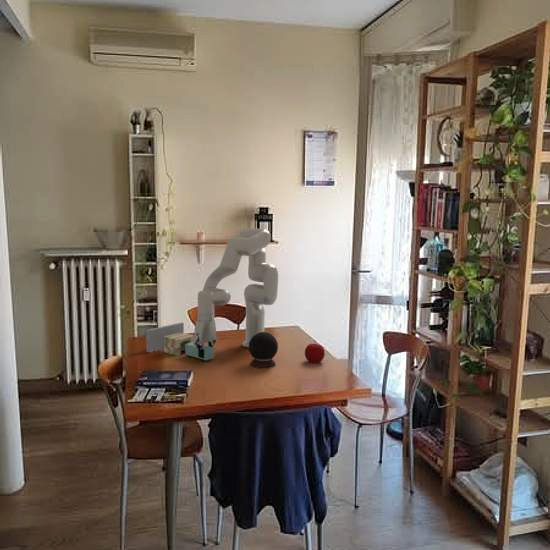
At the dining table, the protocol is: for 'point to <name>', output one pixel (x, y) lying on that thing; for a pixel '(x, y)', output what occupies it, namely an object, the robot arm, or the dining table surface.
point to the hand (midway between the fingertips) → (205, 355)
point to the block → (177, 343)
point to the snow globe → (263, 349)
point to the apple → (314, 353)
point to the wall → (161, 336)
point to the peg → (193, 351)
